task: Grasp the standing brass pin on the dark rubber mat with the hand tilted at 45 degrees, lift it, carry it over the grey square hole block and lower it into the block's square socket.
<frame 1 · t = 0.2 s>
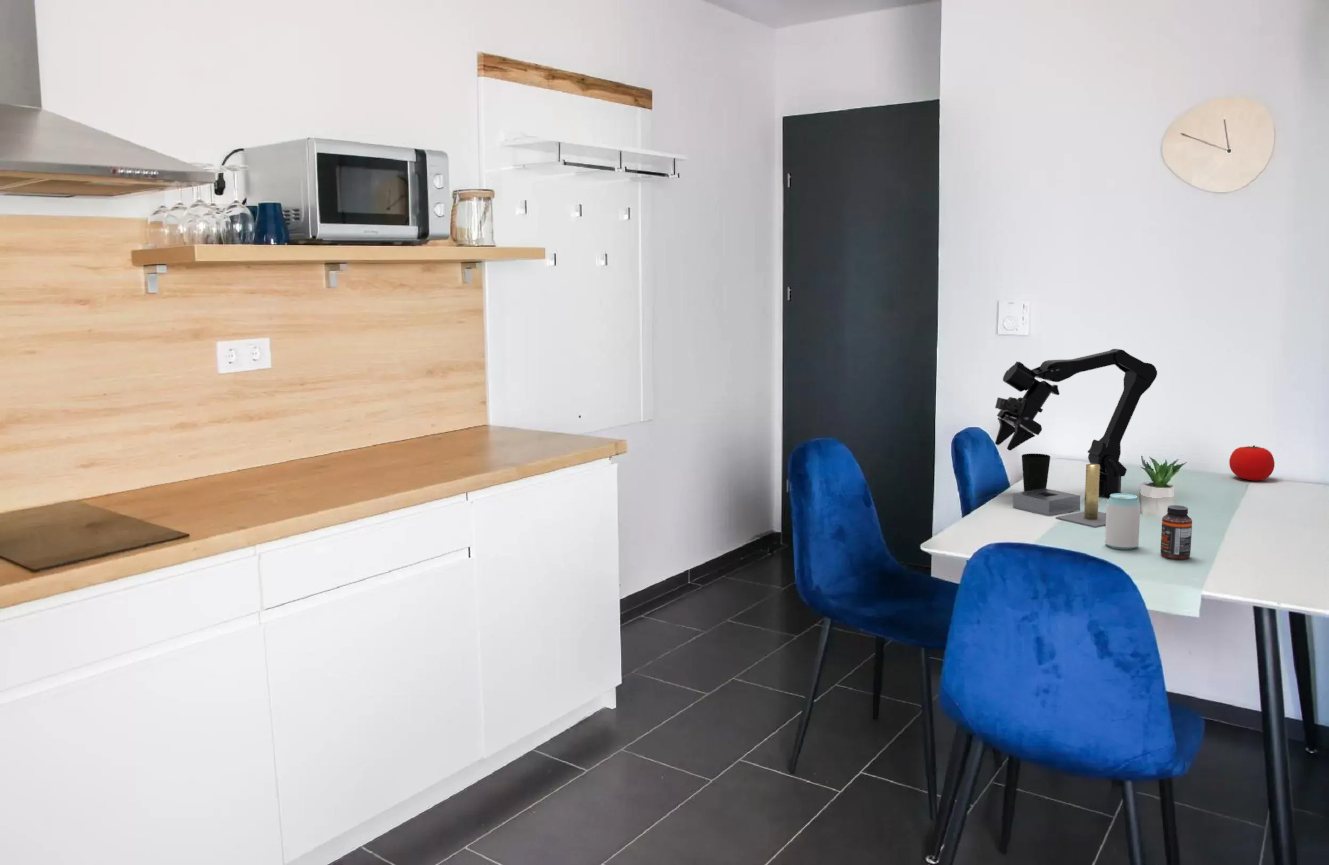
hand: (1002, 447, 281), 15 cm above the table, tool tilted 35°, fingers open, 9 cm apart
mat: (1093, 519, 256), on the table
pin: (1090, 518, 256), resting on mat
tomato: (1250, 480, 302), on the table
cup: (1034, 497, 284), on the table
grey square hole block: (1046, 508, 269), on the table
supplement bottle: (1175, 557, 221), on the table
can: (1121, 547, 230), on the table
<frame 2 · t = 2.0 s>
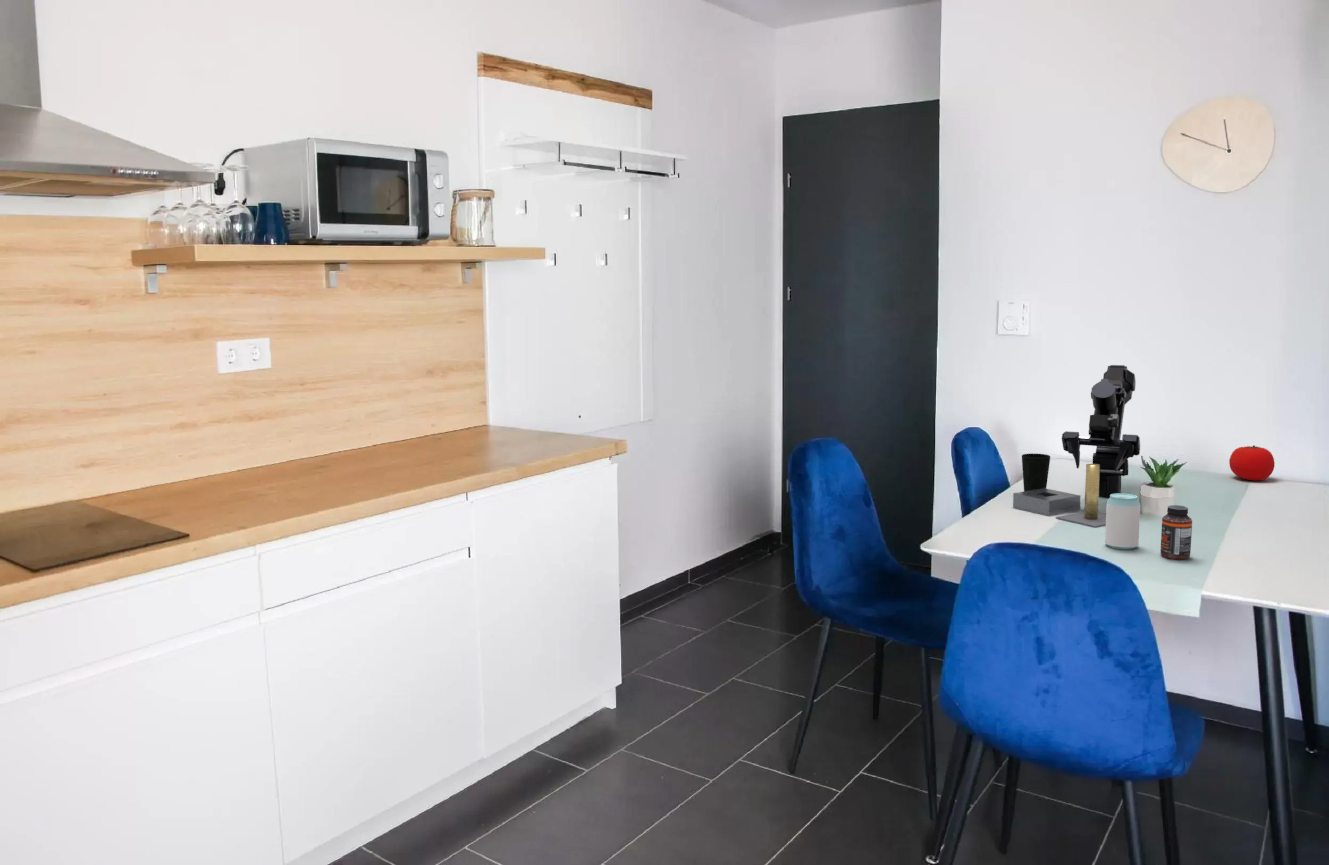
hand: (1096, 468, 259), 12 cm above the table, tool tilted 45°, fingers open, 9 cm apart
nothing on the table moved.
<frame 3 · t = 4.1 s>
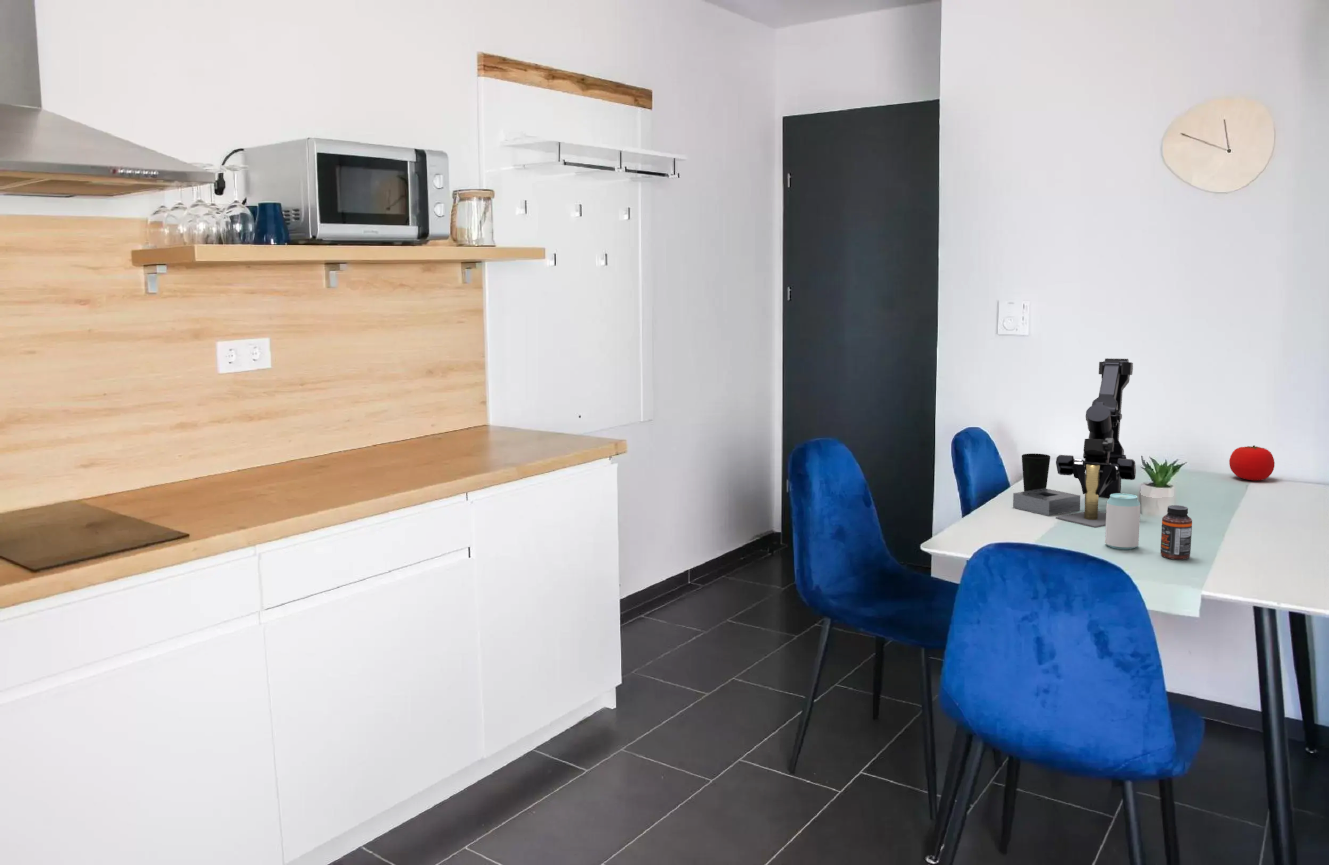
hand: (1091, 493, 254), 7 cm above the table, tool tilted 45°, fingers closed on pin, 3 cm apart
pin: (1090, 518, 256), resting on mat, touching gripper
everything else where it was.
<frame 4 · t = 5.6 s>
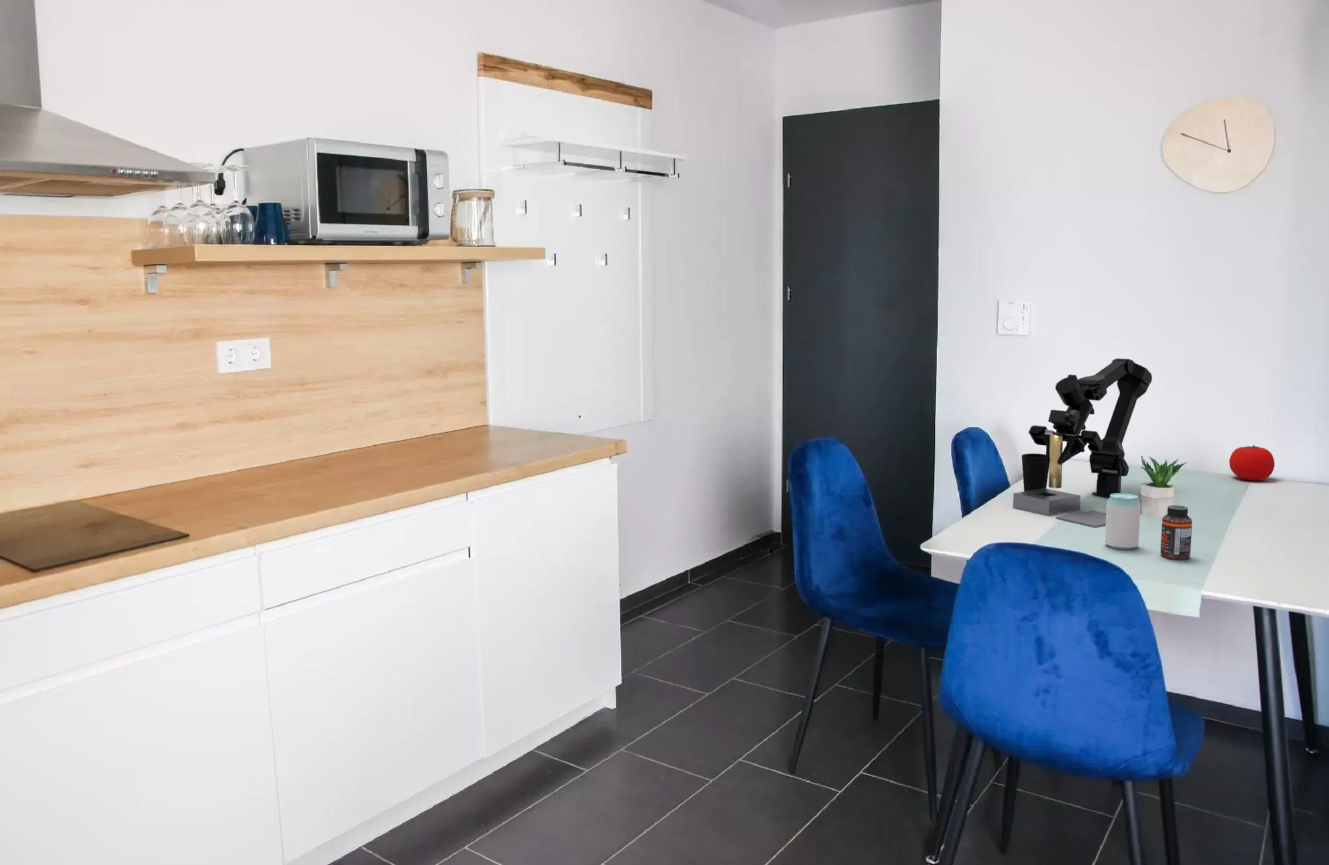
hand: (1052, 463, 264), 13 cm above the table, tool tilted 45°, fingers closed on pin, 3 cm apart
pin: (1055, 486, 265), point 7 cm above the table, touching gripper
everything else where it was.
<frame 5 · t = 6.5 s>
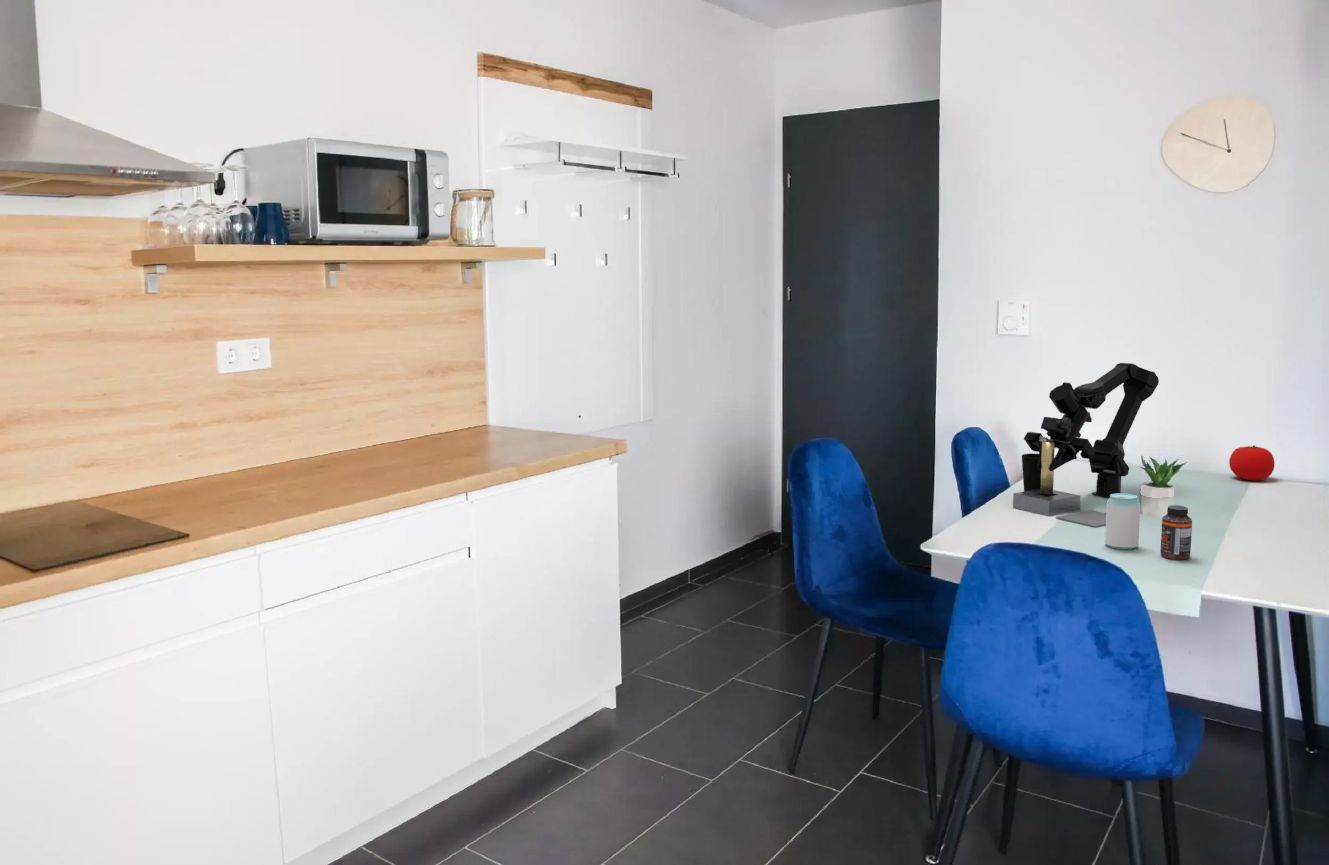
hand: (1044, 469, 267), 11 cm above the table, tool tilted 45°, fingers closed on pin, 3 cm apart
pin: (1046, 492, 269), point 4 cm above the table, touching gripper
everything else where it was.
when the fingers open (8 cm above the table, at t = 7.3 s): pin drops 2 cm, resting in grey square hole block.
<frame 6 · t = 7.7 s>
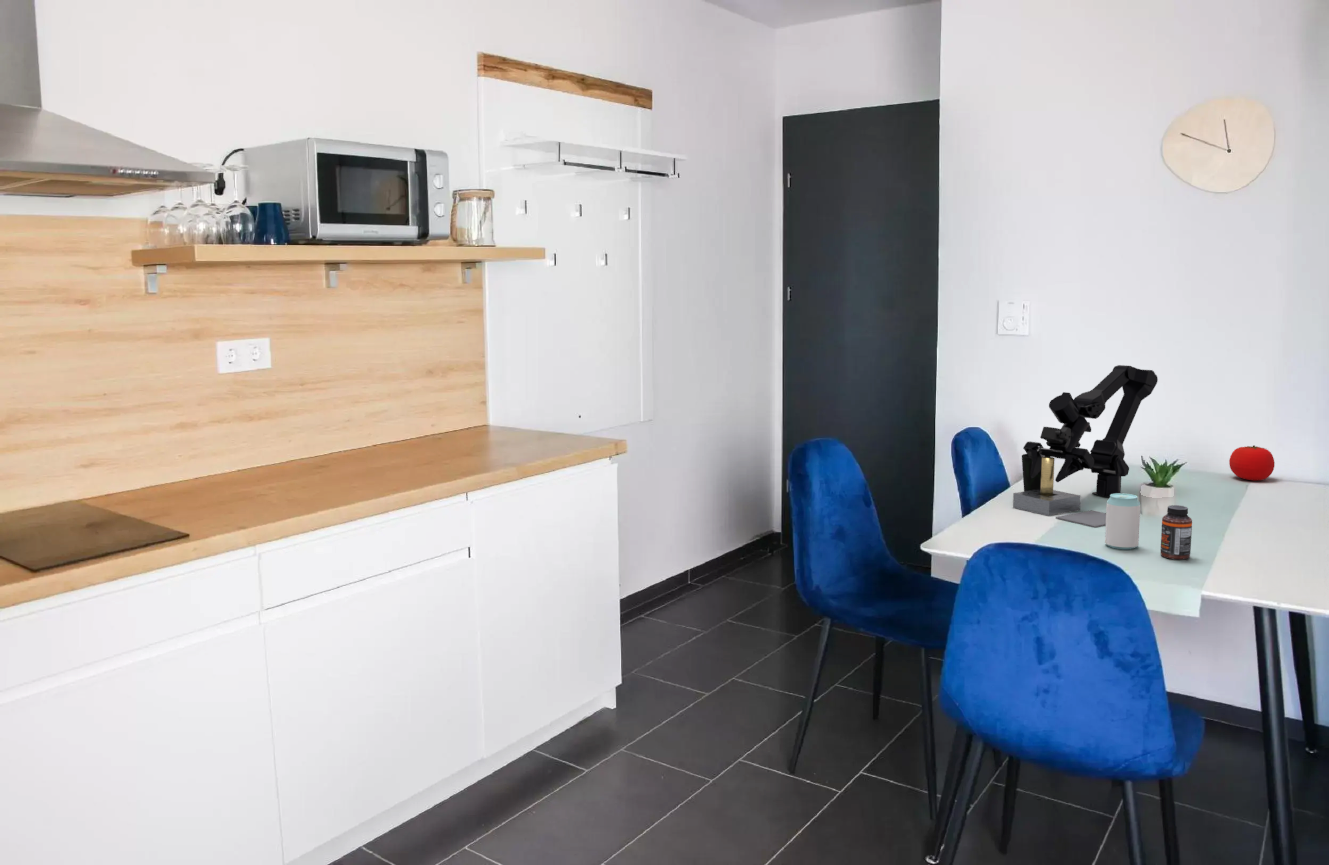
hand: (1043, 479, 268), 8 cm above the table, tool tilted 45°, fingers open, 7 cm apart
pin: (1046, 508, 269), resting in grey square hole block
everything else where it was.
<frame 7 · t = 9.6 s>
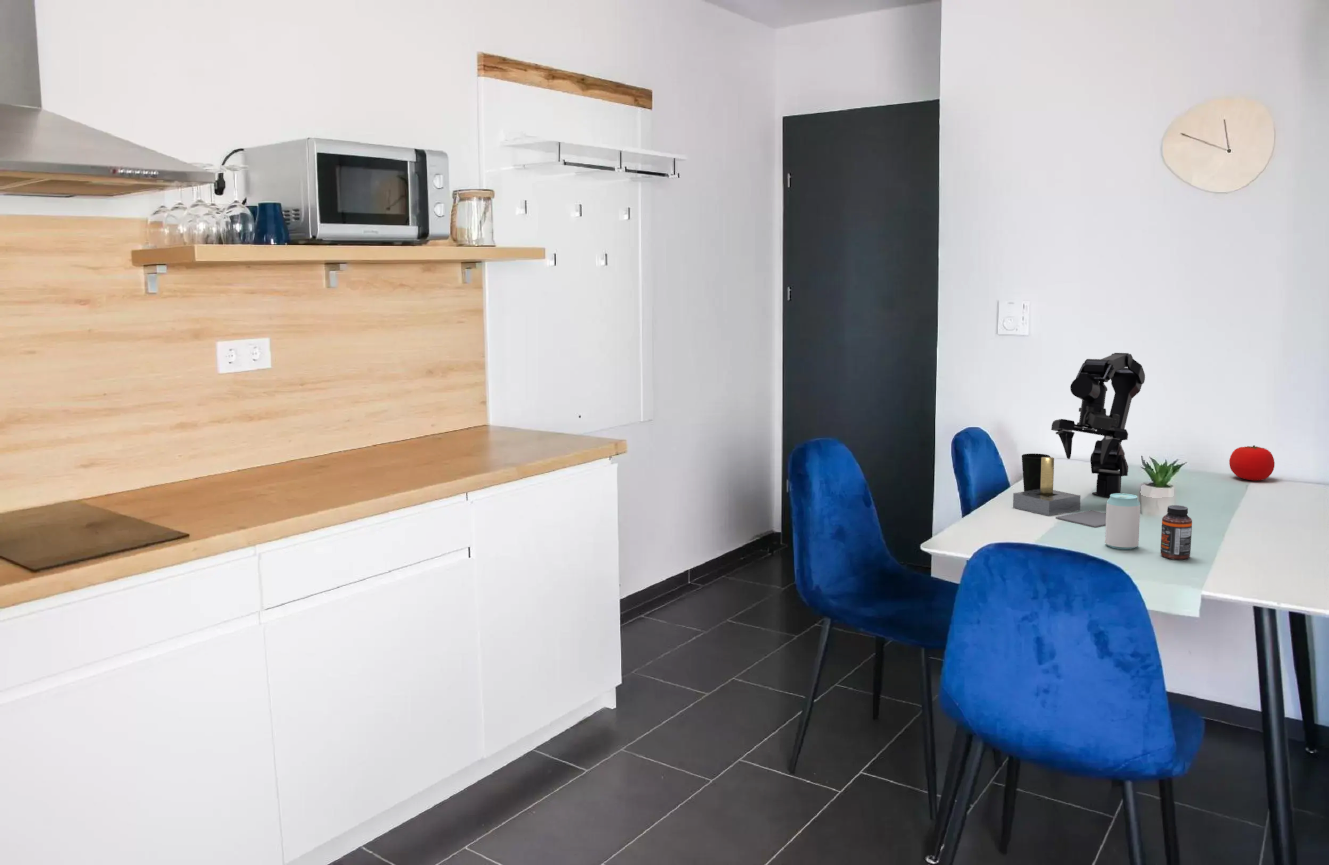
hand: (1085, 461, 268), 13 cm above the table, tool tilted 15°, fingers open, 9 cm apart
nothing on the table moved.
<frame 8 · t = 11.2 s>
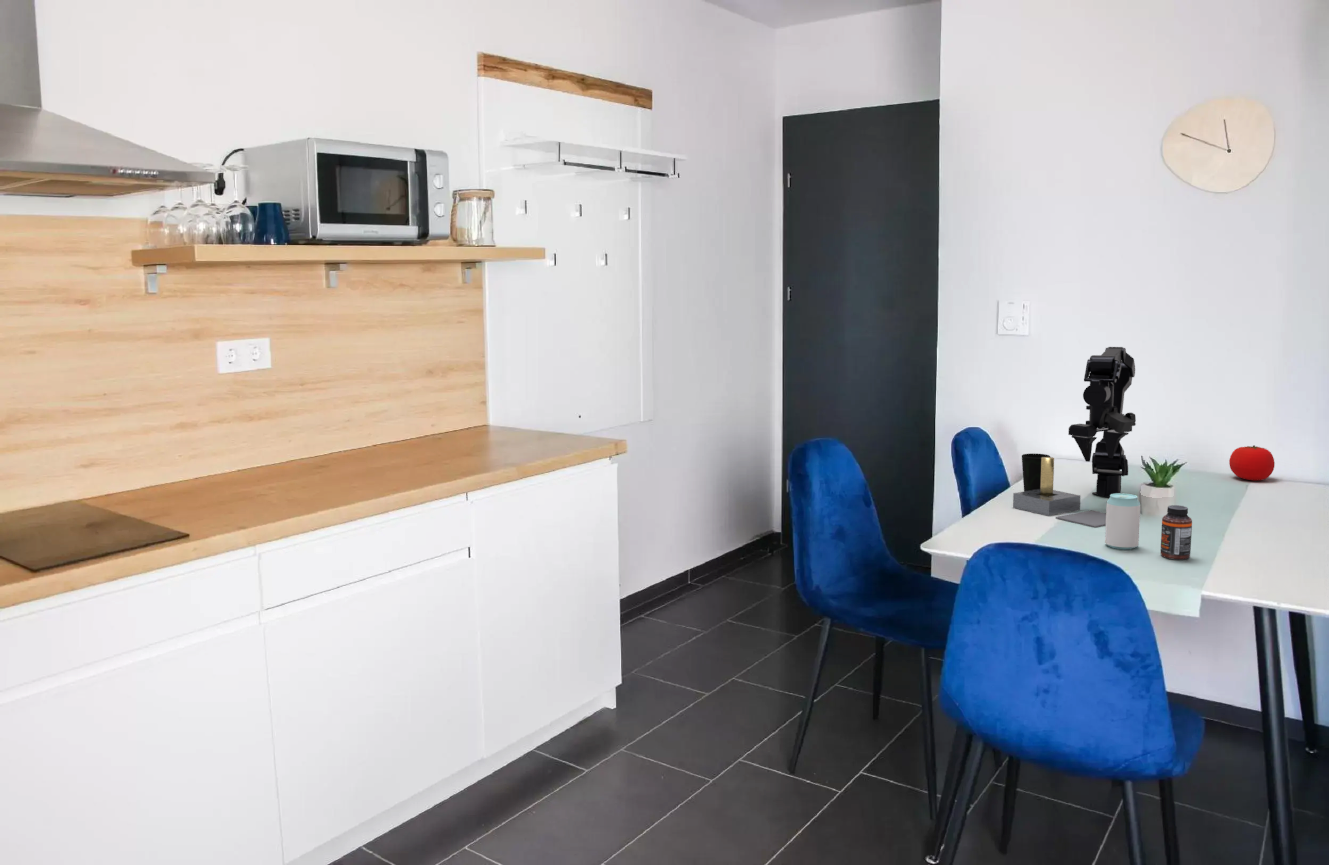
hand: (1099, 459, 268), 13 cm above the table, tool pointing down, fingers open, 9 cm apart
nothing on the table moved.
at the end: pin 0.0 cm off-centre on the grey square hole block, point 0.0 cm above the grey square hole block's base; pin tilted 0°; the gripper is holding nothing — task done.
